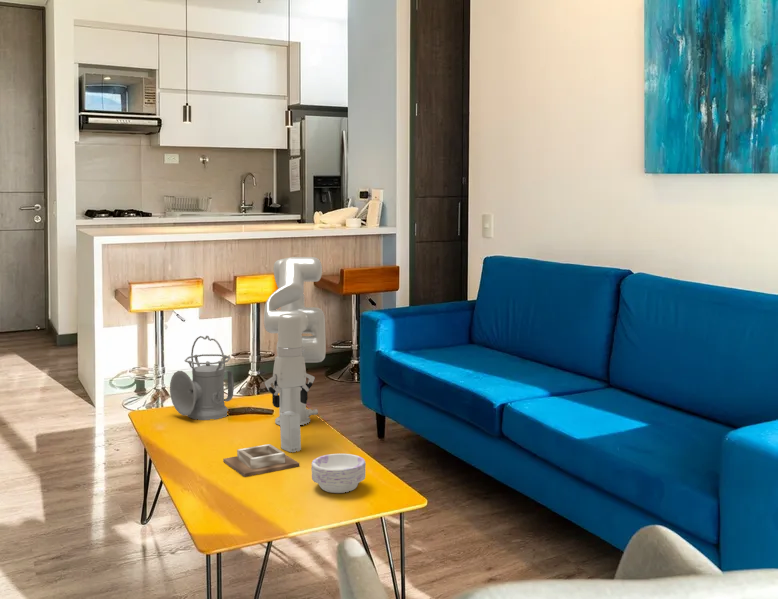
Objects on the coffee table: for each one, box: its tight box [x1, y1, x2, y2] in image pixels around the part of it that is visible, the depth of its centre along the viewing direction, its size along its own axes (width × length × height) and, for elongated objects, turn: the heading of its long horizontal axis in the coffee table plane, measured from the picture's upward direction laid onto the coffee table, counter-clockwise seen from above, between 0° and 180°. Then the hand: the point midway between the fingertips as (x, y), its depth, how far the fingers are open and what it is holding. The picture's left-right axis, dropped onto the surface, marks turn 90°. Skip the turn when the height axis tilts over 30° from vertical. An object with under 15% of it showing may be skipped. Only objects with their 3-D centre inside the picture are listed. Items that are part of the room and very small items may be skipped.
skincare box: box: [279, 411, 302, 453], centre depth 263 cm, size 6×4×12 cm
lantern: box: [169, 335, 235, 421], centre depth 302 cm, size 21×22×30 cm
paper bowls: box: [311, 453, 367, 494], centre depth 229 cm, size 15×15×8 cm
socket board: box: [222, 443, 300, 478], centre depth 249 cm, size 18×16×4 cm
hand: (290, 404), depth 261 cm, fingers open, 9 cm apart
